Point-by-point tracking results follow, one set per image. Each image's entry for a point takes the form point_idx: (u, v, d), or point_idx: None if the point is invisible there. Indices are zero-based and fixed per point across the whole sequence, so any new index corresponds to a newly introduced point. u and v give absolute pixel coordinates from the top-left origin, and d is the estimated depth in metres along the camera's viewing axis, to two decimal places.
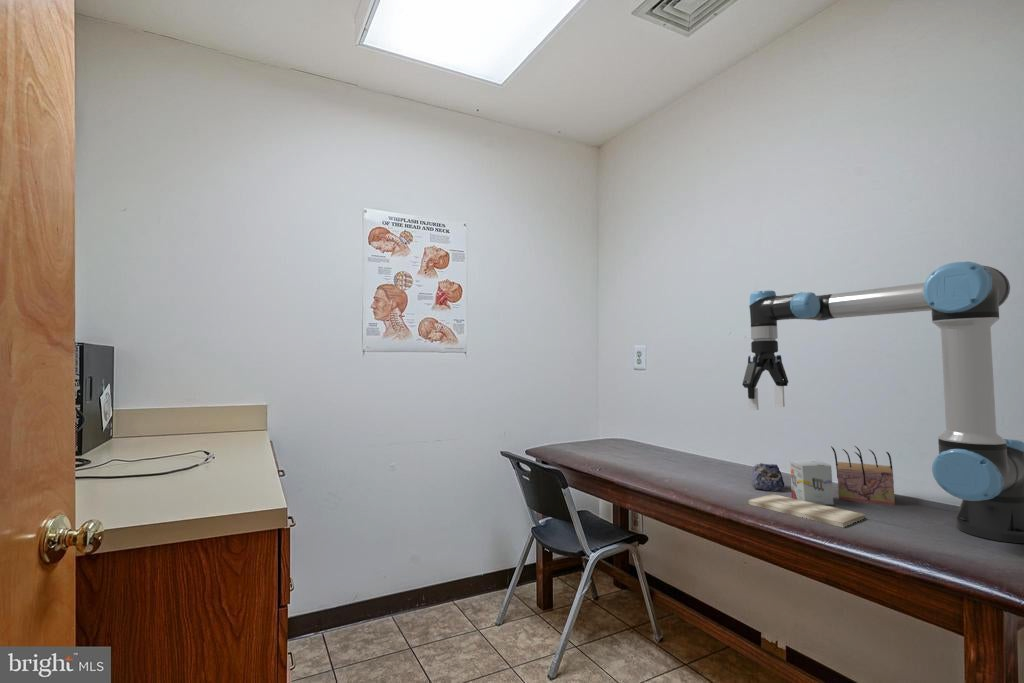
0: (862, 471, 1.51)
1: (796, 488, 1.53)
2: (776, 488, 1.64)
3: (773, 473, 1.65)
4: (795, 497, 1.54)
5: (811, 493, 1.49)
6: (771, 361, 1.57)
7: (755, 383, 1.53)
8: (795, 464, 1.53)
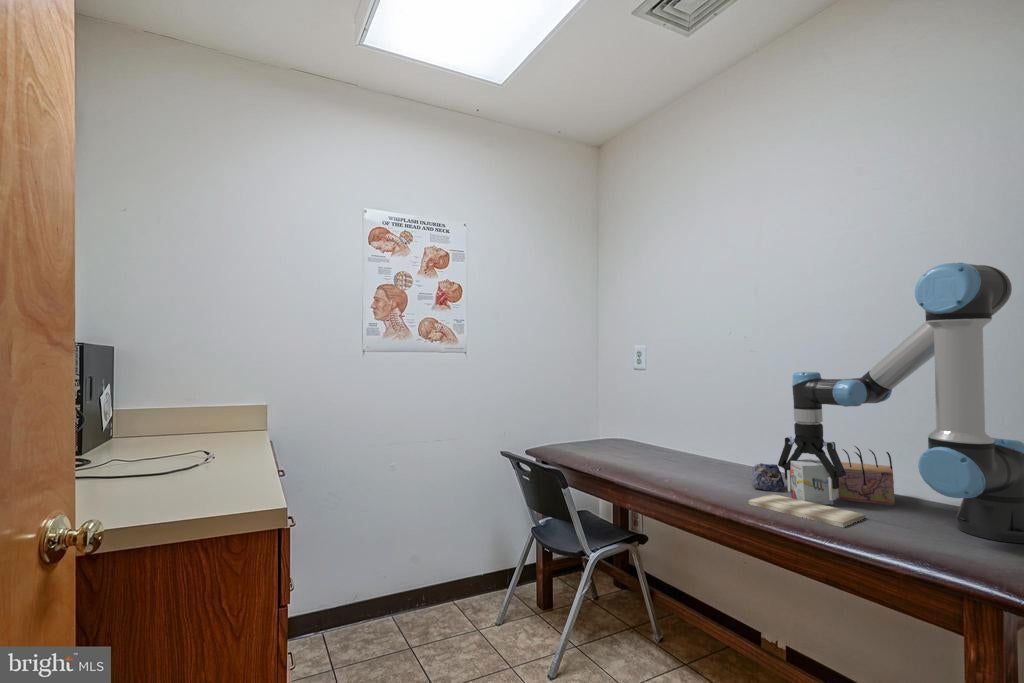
0: (862, 471, 1.51)
1: (796, 488, 1.53)
2: (776, 488, 1.64)
3: (773, 473, 1.65)
4: (795, 497, 1.54)
5: (811, 493, 1.49)
6: None
7: (786, 465, 1.58)
8: (795, 464, 1.53)
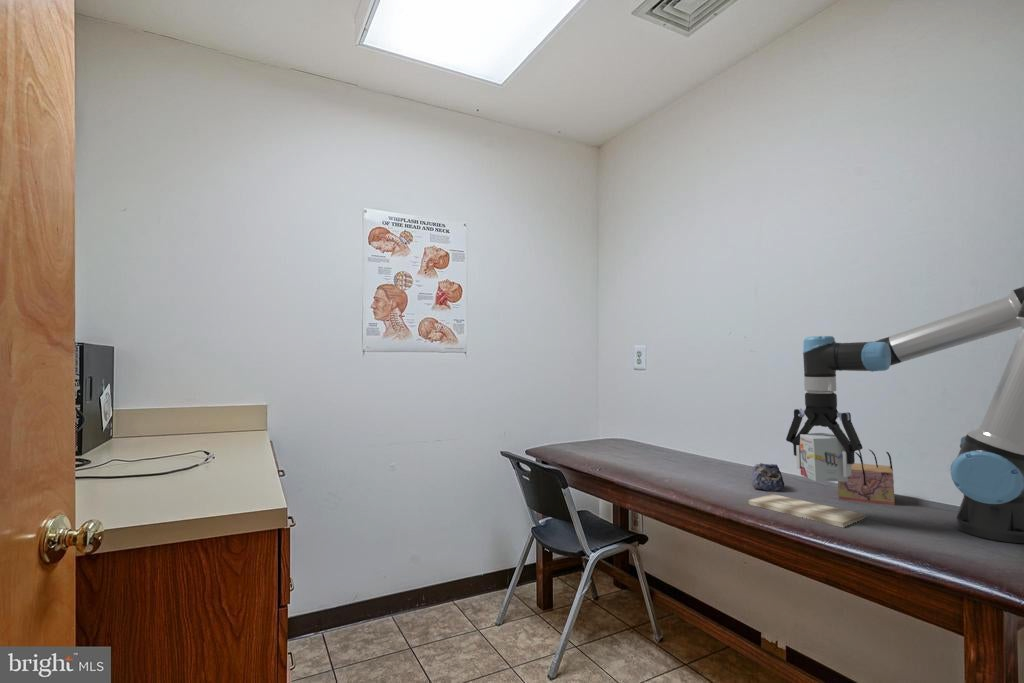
0: (862, 471, 1.51)
1: (807, 464, 1.38)
2: (776, 488, 1.64)
3: (773, 473, 1.65)
4: (805, 474, 1.40)
5: (823, 469, 1.34)
6: None
7: (796, 439, 1.43)
8: (805, 437, 1.39)
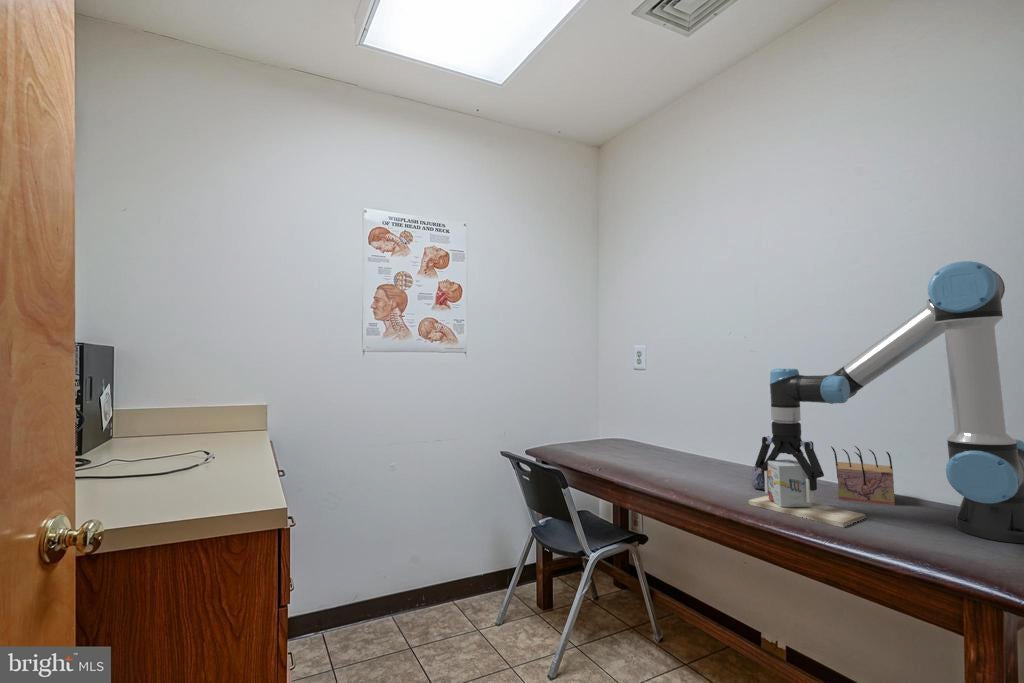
0: (862, 471, 1.51)
1: (773, 489, 1.46)
2: None
3: None
4: (772, 499, 1.48)
5: (788, 494, 1.42)
6: None
7: (764, 465, 1.51)
8: (772, 464, 1.47)
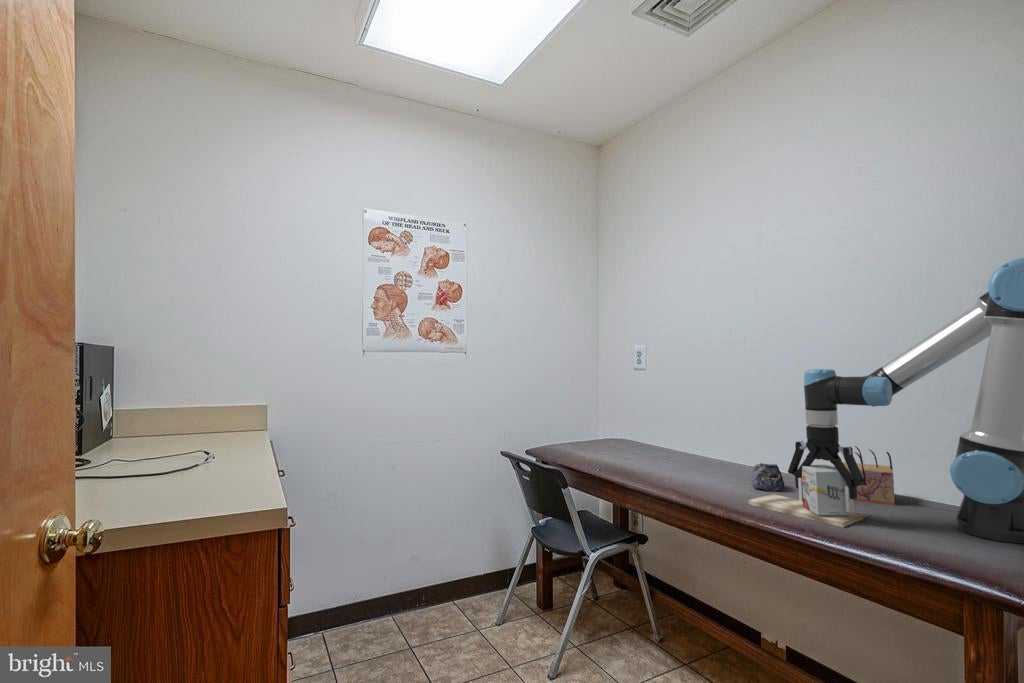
0: (862, 471, 1.51)
1: (809, 496, 1.38)
2: (776, 488, 1.64)
3: (773, 473, 1.65)
4: (807, 506, 1.39)
5: (825, 502, 1.34)
6: None
7: (797, 472, 1.43)
8: (807, 470, 1.39)
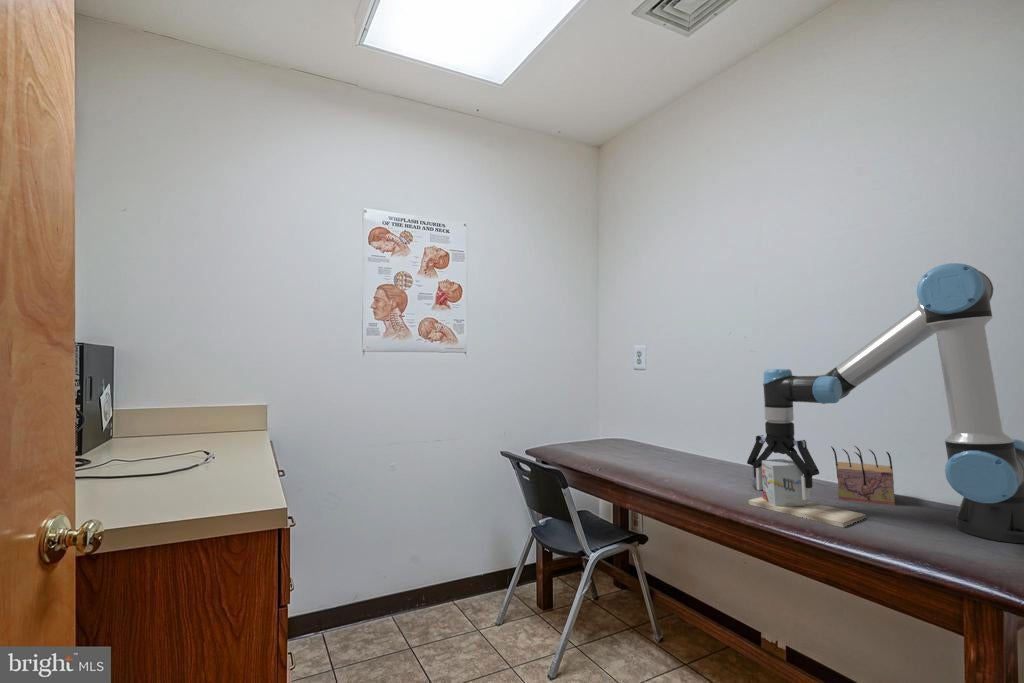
0: (862, 471, 1.51)
1: (767, 489, 1.48)
2: None
3: None
4: (766, 498, 1.49)
5: (782, 494, 1.44)
6: None
7: (755, 463, 1.54)
8: (766, 464, 1.49)
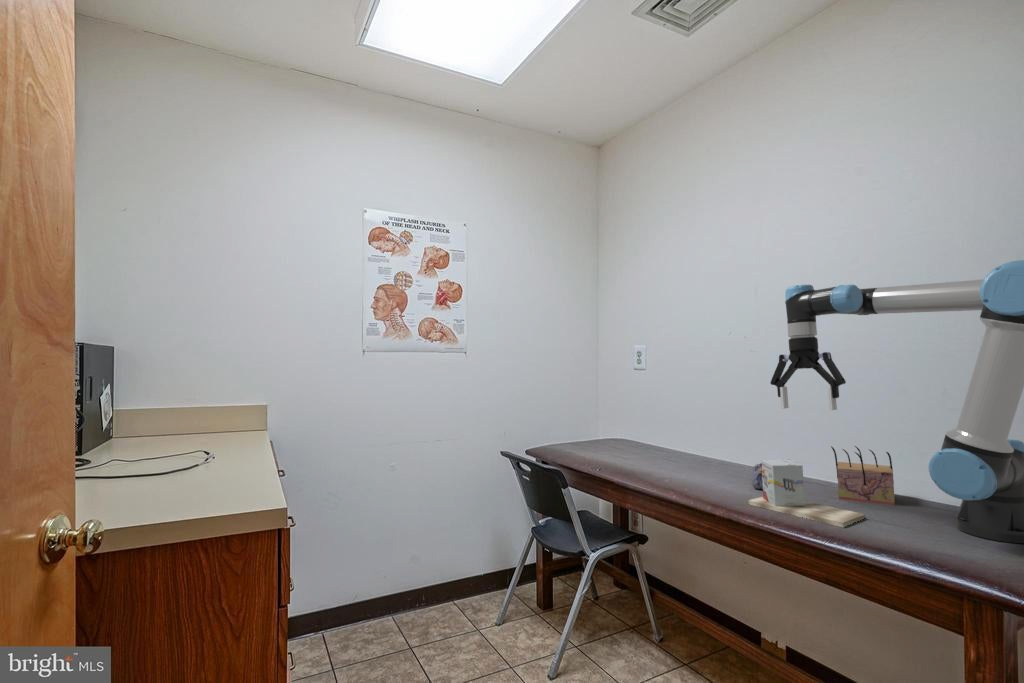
0: (862, 471, 1.51)
1: (767, 489, 1.48)
2: None
3: None
4: (766, 498, 1.49)
5: (782, 494, 1.44)
6: None
7: (779, 382, 1.55)
8: (766, 464, 1.49)
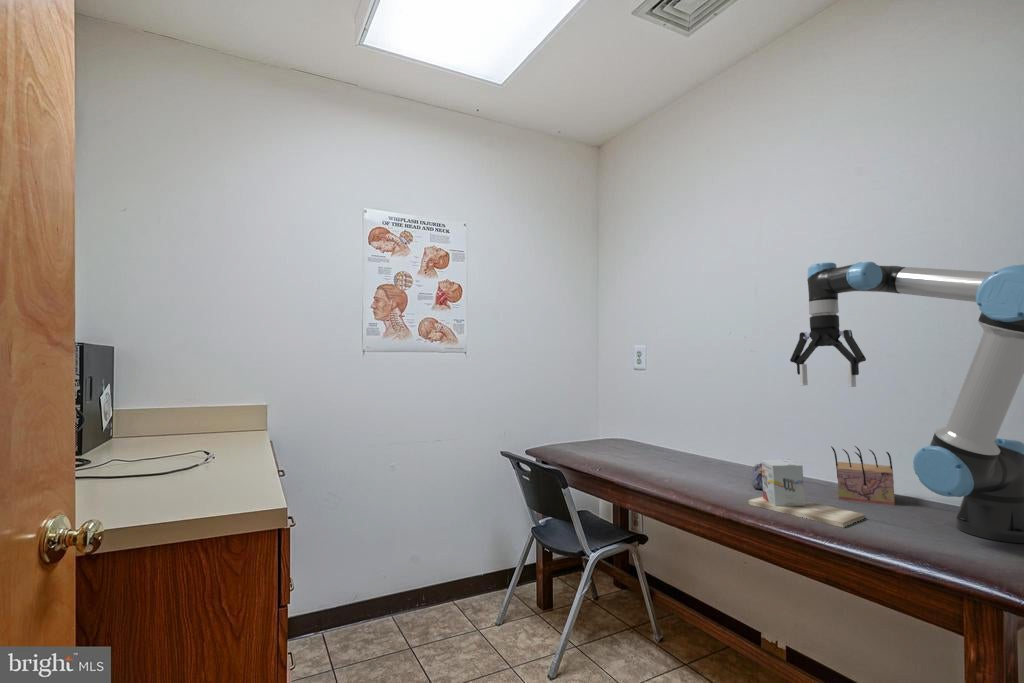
0: (862, 471, 1.51)
1: (767, 489, 1.48)
2: None
3: None
4: (766, 498, 1.49)
5: (782, 494, 1.44)
6: None
7: (799, 359, 1.56)
8: (766, 464, 1.49)
